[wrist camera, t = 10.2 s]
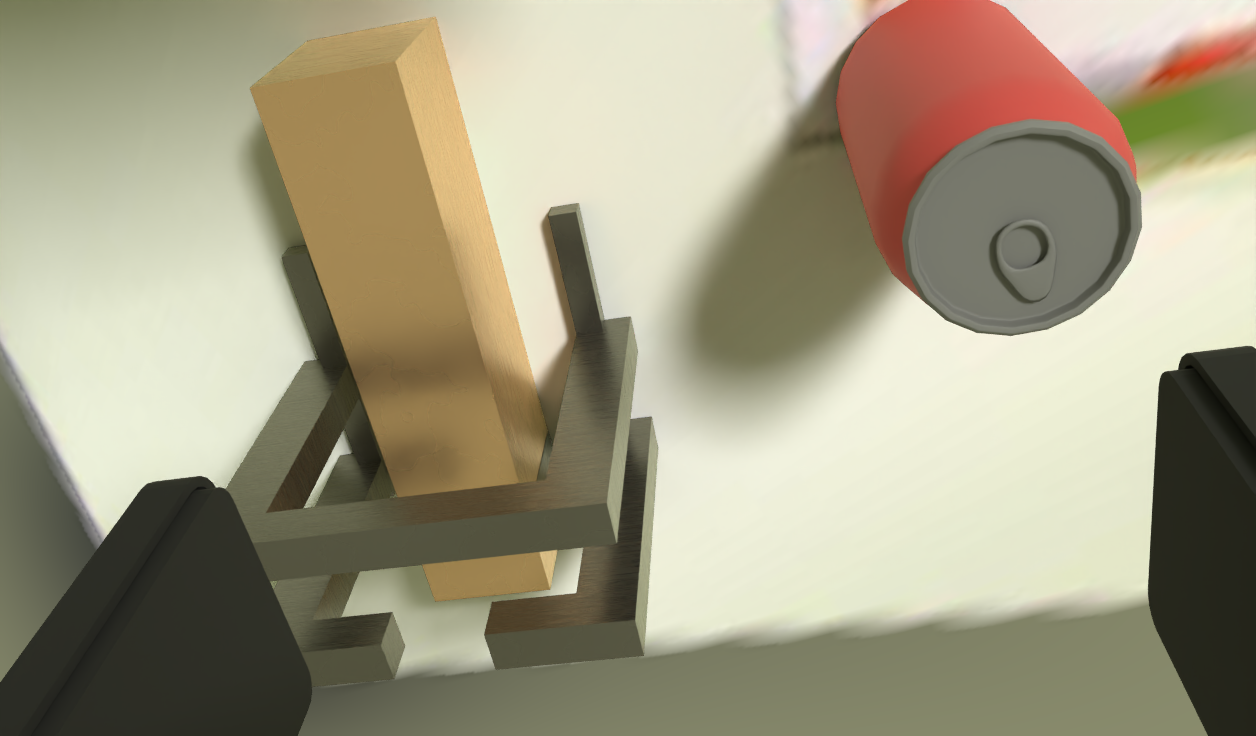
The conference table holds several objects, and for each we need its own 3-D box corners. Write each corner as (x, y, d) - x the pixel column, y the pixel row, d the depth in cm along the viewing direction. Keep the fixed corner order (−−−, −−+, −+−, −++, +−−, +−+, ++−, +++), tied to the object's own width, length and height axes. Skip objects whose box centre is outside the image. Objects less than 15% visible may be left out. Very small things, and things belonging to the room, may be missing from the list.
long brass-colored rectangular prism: (307, 40, 38) (249, 87, 33) (436, 16, 37) (396, 61, 32) (462, 512, 47) (434, 601, 43) (567, 500, 47) (550, 589, 42)
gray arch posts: (263, 251, 42) (124, 420, 32) (605, 198, 40) (572, 360, 30) (353, 489, 47) (258, 697, 37) (659, 453, 45) (645, 661, 35)
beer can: (867, 210, 39) (923, 388, 29) (807, 34, 37) (846, 161, 26) (1057, 143, 38) (1188, 305, 27) (1010, -47, 35) (1138, 54, 25)
